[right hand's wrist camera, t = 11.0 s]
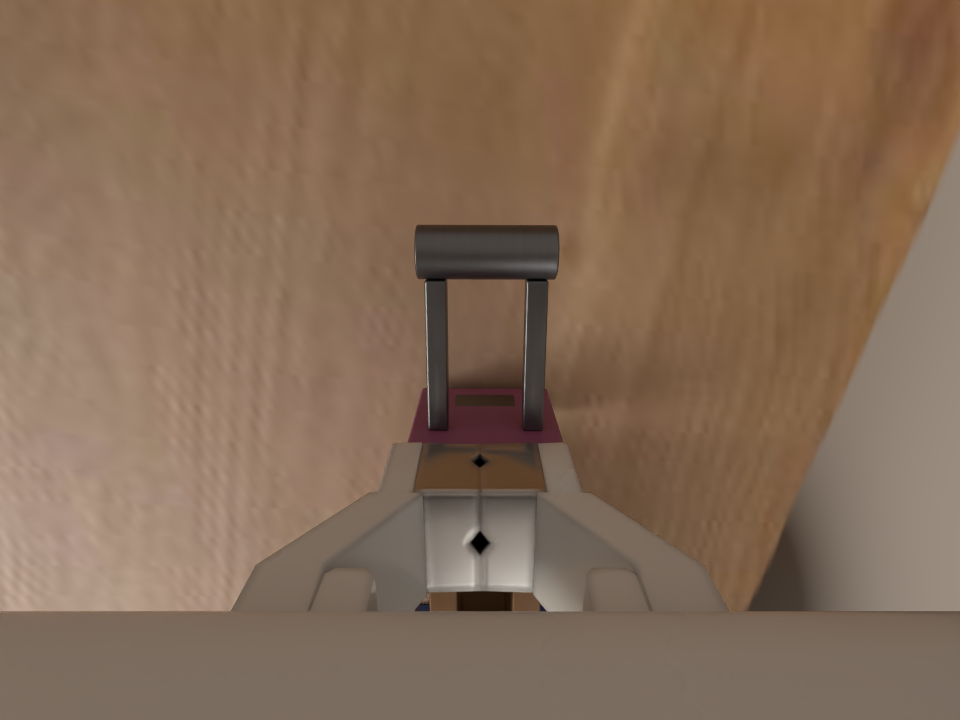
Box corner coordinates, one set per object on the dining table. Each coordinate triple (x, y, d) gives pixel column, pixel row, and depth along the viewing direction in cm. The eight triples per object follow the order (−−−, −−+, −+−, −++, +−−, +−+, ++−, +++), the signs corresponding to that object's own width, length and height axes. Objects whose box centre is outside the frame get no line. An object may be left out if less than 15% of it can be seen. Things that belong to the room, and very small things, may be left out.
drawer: (417, 217, 19) (392, 231, 13) (553, 217, 19) (583, 232, 13) (432, 763, 26) (419, 921, 20) (531, 763, 26) (545, 922, 20)
